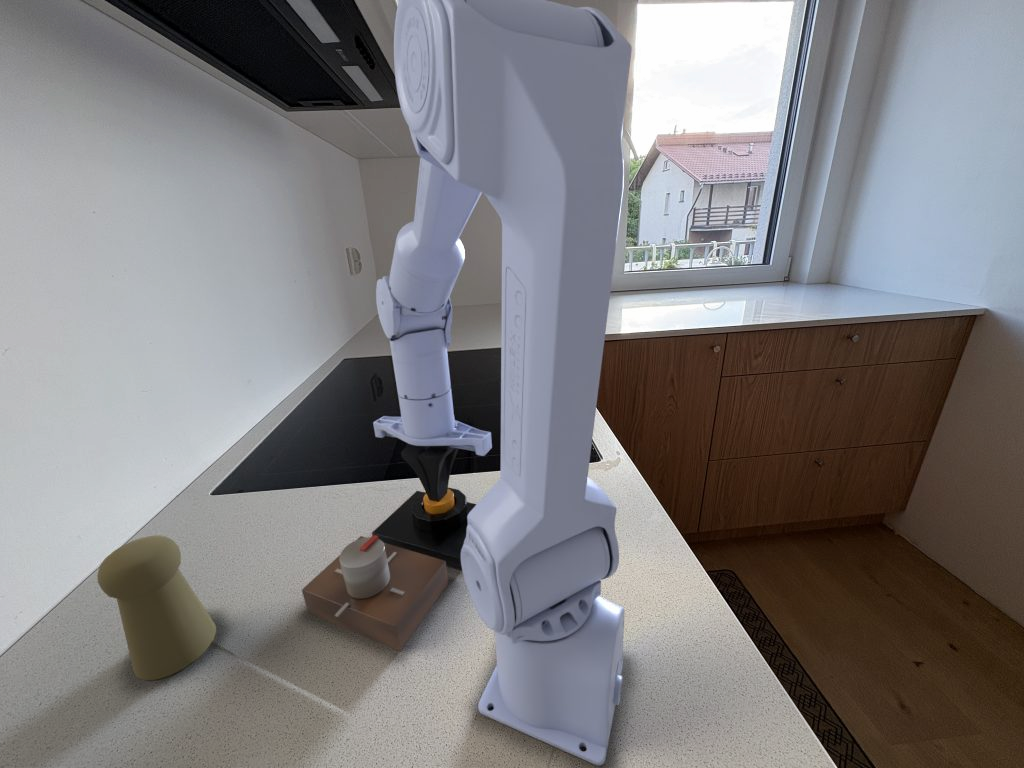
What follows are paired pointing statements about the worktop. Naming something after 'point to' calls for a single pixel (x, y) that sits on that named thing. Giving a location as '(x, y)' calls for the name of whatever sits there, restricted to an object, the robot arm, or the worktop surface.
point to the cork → (156, 607)
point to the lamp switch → (428, 528)
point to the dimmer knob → (365, 567)
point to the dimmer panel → (381, 597)
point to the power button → (439, 504)
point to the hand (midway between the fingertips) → (438, 496)
